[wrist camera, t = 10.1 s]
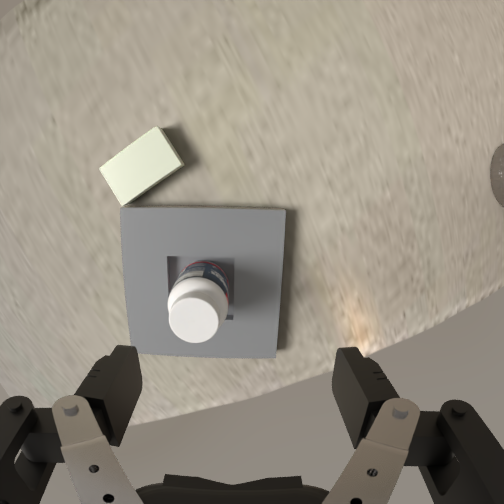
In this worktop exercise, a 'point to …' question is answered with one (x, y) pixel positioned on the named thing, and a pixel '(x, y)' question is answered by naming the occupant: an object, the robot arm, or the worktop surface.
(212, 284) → the pill bottle
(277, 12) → the worktop surface
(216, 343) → the grey square slab
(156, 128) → the soap bar
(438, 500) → the robot arm
